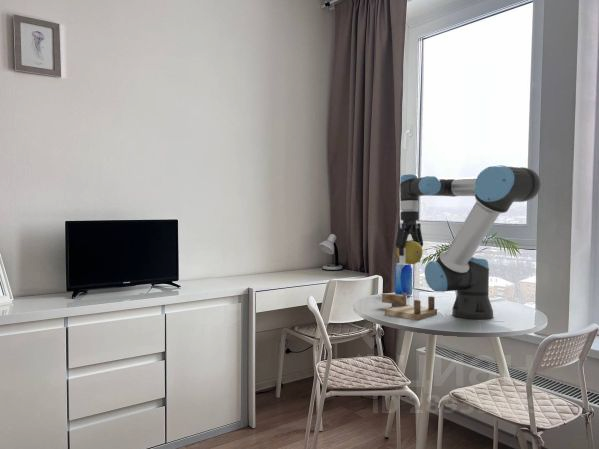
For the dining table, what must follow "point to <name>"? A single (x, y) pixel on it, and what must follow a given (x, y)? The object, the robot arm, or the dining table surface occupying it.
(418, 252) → the fruit
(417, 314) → the stool seat
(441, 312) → the dining table surface
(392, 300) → the hinge leg
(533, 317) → the dining table surface
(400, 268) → the beer can
